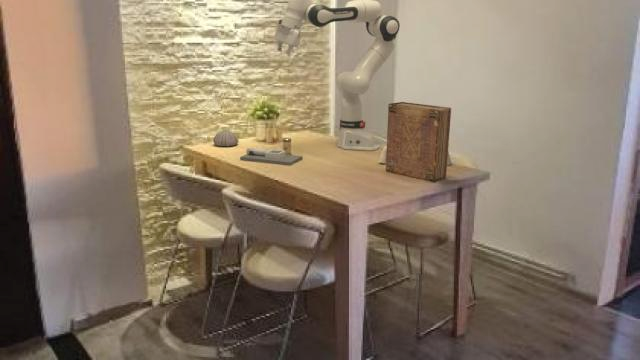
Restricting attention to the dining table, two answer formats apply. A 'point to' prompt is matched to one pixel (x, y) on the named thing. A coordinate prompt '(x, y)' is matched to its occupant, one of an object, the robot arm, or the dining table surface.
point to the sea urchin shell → (225, 138)
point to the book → (418, 140)
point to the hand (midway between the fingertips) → (283, 52)
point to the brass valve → (287, 146)
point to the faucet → (383, 155)
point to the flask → (448, 160)
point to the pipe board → (270, 156)
